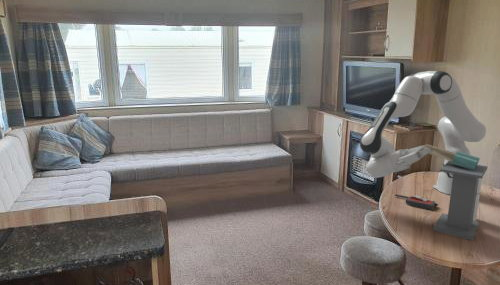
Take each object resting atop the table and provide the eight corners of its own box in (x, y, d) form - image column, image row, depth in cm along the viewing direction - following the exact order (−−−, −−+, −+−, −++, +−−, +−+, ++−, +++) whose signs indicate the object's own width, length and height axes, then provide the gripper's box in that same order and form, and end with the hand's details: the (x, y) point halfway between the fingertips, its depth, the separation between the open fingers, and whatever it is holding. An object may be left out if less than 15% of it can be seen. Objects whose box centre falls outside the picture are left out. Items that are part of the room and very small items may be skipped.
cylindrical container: (469, 223, 160) (477, 166, 154) (453, 216, 166) (461, 162, 161) (479, 220, 163) (488, 164, 158) (463, 214, 169) (471, 160, 164)
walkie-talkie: (438, 206, 179) (395, 196, 191) (439, 197, 178) (396, 188, 190) (434, 211, 172) (390, 202, 184) (436, 202, 171) (391, 193, 183)
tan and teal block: (425, 149, 163) (428, 141, 162) (476, 165, 152) (480, 158, 151) (421, 152, 157) (423, 145, 155) (473, 170, 146) (476, 162, 145)
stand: (441, 217, 165) (449, 160, 160) (478, 226, 157) (487, 166, 151) (433, 230, 153) (440, 169, 147) (472, 240, 145) (482, 176, 139)
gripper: (390, 158, 158) (422, 146, 150) (405, 148, 174) (435, 137, 165) (397, 172, 158) (429, 161, 149) (411, 161, 173) (441, 150, 165)
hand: (432, 148), depth 157 cm, fingers closed on tan and teal block, 3 cm apart
